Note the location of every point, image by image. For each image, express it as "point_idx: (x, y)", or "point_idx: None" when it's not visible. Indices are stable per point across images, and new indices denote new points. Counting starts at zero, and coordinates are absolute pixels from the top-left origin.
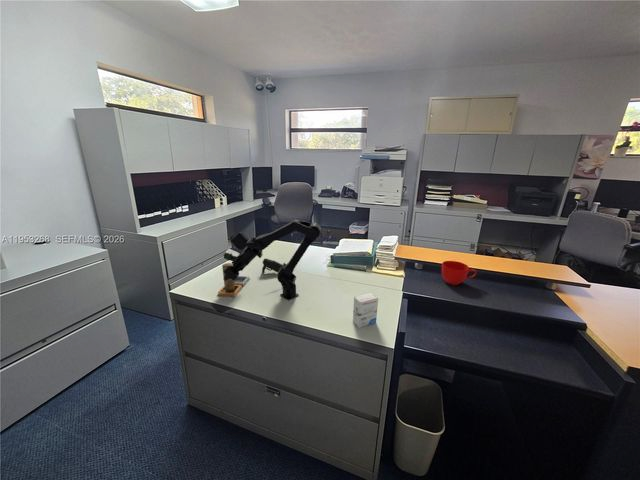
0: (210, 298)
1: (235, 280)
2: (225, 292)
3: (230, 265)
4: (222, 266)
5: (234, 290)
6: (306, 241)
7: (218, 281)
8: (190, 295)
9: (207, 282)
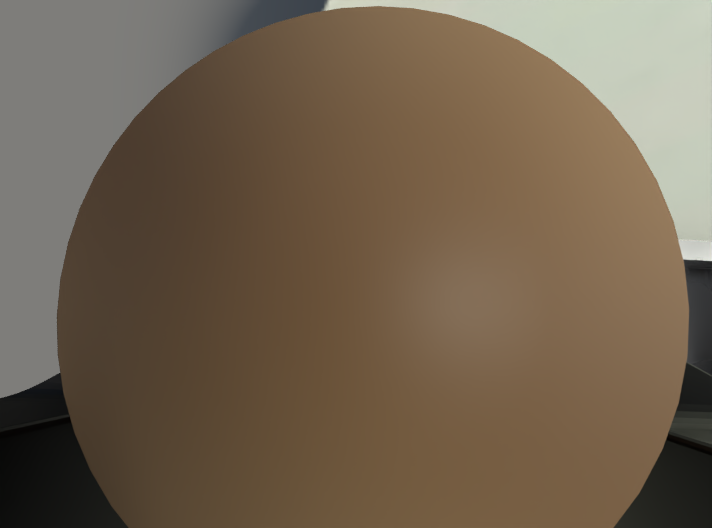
0: None
1: None
2: None
3: (286, 485)
4: (189, 81)
5: None
6: None
7: (624, 102)
8: (327, 8)
9: (580, 15)
